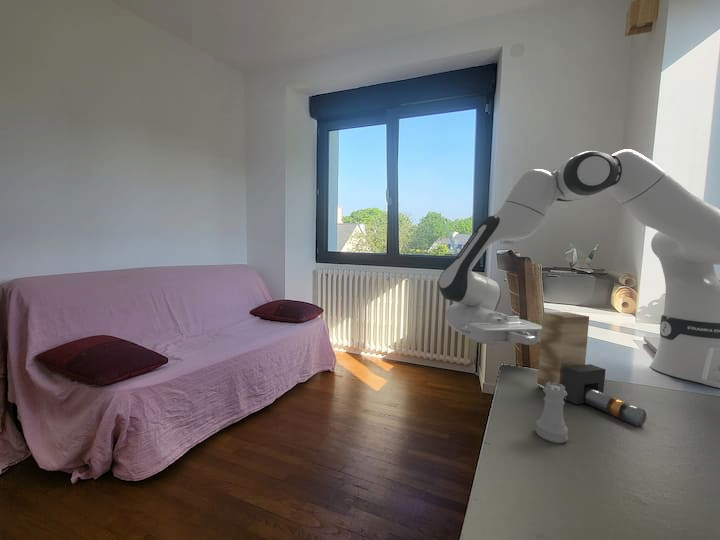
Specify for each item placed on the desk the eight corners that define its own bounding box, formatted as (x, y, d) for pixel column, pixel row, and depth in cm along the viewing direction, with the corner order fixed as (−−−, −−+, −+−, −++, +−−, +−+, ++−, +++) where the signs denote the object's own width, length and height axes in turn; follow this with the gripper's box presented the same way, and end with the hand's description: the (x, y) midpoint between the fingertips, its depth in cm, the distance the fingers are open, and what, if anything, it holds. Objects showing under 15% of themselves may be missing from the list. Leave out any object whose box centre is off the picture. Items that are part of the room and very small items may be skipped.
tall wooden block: (536, 385, 71) (542, 312, 70) (560, 383, 73) (566, 311, 73) (557, 395, 66) (564, 317, 66) (582, 392, 69) (589, 316, 68)
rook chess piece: (566, 448, 48) (571, 394, 48) (532, 436, 51) (536, 385, 50) (569, 435, 52) (574, 385, 51) (537, 425, 54) (541, 377, 54)
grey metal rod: (553, 391, 69) (555, 376, 69) (564, 389, 70) (565, 375, 70) (633, 427, 55) (635, 410, 55) (645, 425, 56) (647, 408, 56)
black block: (562, 397, 65) (564, 366, 65) (587, 394, 68) (590, 364, 67) (576, 404, 63) (579, 371, 62) (602, 400, 65) (605, 369, 65)
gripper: (457, 315, 86) (496, 328, 73) (519, 315, 93) (565, 326, 80) (455, 340, 86) (494, 356, 73) (518, 337, 93) (562, 352, 80)
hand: (531, 341), depth 77 cm, fingers closed
